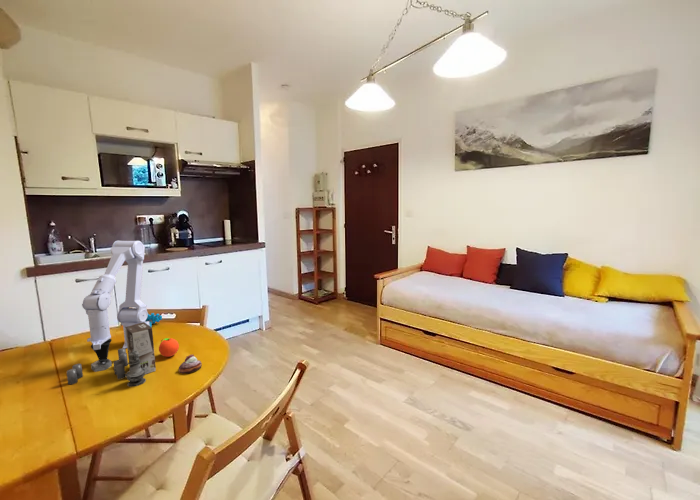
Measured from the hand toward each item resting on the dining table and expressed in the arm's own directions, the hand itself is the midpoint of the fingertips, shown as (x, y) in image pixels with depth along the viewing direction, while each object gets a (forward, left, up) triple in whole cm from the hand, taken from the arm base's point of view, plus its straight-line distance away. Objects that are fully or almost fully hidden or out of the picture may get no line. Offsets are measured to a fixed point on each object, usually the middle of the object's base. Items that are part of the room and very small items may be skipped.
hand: (103, 360), depth 123 cm
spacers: (0, +8, -1) cm, 8 cm away
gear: (-12, -34, -1) cm, 36 cm away
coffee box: (-14, +12, -1) cm, 18 cm away
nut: (0, +4, -1) cm, 4 cm away
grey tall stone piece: (-13, +21, -1) cm, 25 cm away
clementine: (-22, +4, -1) cm, 22 cm away
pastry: (-29, +20, -2) cm, 35 cm away
